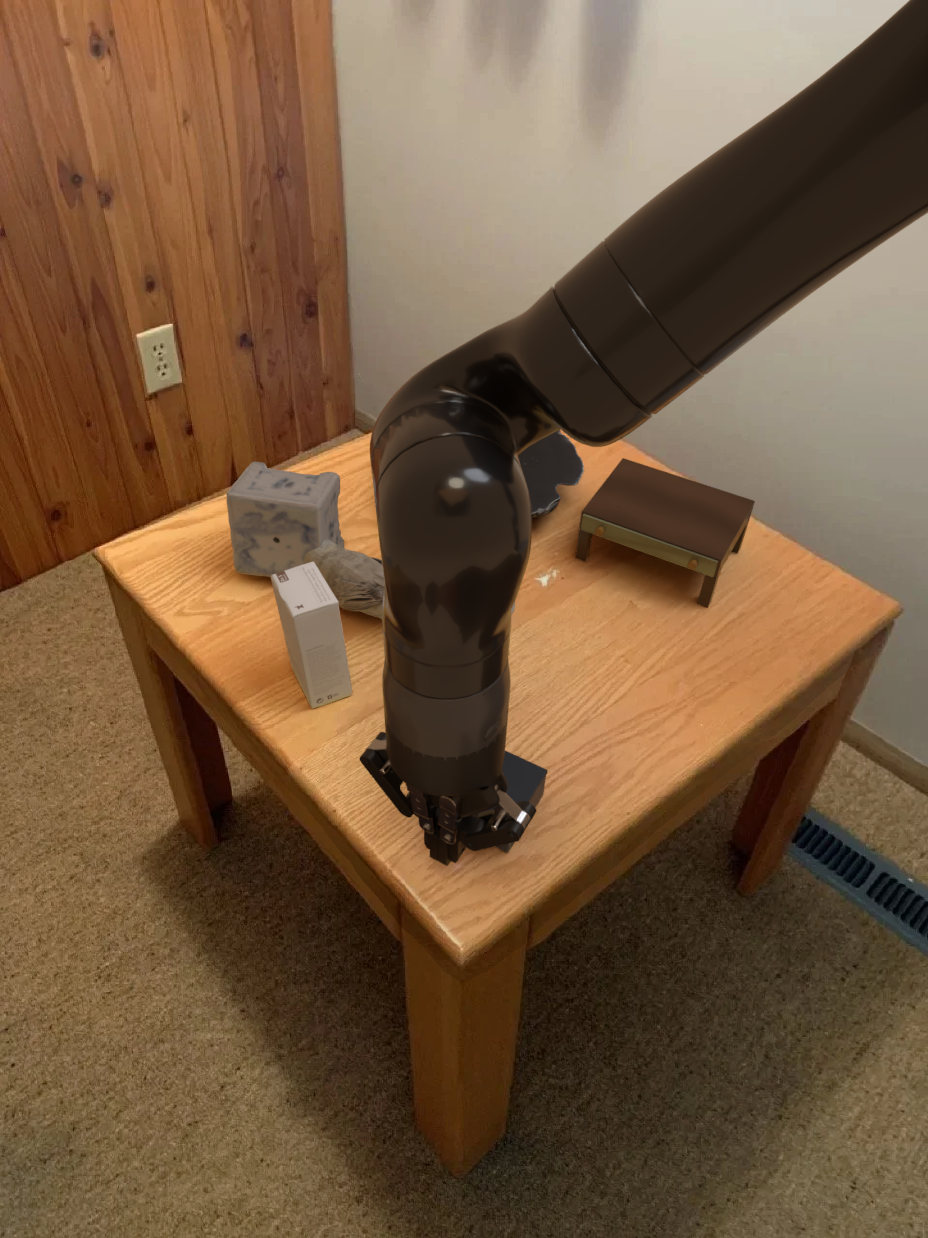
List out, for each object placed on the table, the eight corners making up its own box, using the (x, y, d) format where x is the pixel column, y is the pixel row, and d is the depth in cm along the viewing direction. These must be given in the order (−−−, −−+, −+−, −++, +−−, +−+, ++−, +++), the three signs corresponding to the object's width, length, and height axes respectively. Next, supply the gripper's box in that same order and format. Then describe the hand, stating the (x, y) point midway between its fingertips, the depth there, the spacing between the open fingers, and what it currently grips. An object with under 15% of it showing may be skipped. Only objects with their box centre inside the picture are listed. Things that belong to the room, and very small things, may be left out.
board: (356, 479, 107) (353, 443, 103) (502, 420, 116) (503, 384, 113) (467, 582, 95) (468, 545, 91) (619, 507, 104) (626, 470, 100)
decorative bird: (323, 559, 97) (316, 504, 92) (436, 629, 90) (435, 574, 85) (285, 585, 94) (276, 530, 89) (399, 660, 87) (396, 605, 82)
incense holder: (348, 542, 99) (340, 464, 91) (326, 594, 93) (316, 514, 85) (262, 531, 100) (248, 452, 92) (235, 581, 94) (217, 501, 87)
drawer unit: (705, 613, 92) (718, 565, 87) (571, 563, 97) (577, 515, 92) (740, 547, 99) (755, 500, 95) (614, 504, 104) (622, 457, 100)
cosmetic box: (354, 695, 84) (344, 601, 75) (309, 712, 82) (293, 618, 74) (330, 651, 88) (318, 557, 79) (286, 666, 86) (268, 572, 77)
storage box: (508, 854, 72) (510, 831, 70) (447, 824, 74) (448, 799, 72) (544, 794, 76) (547, 770, 74) (486, 766, 78) (487, 742, 76)
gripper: (572, 705, 54) (548, 853, 67) (388, 624, 59) (397, 777, 71) (515, 796, 50) (500, 938, 62) (319, 701, 54) (342, 851, 66)
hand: (445, 852), depth 67 cm, fingers closed
